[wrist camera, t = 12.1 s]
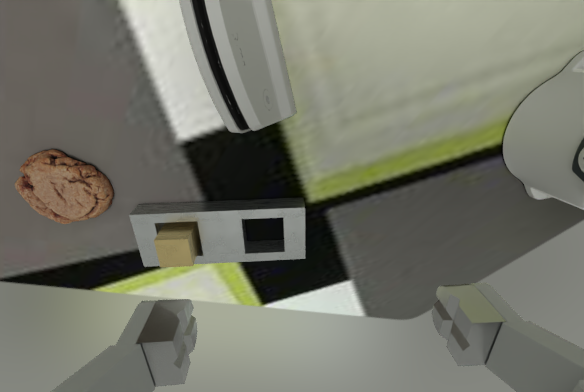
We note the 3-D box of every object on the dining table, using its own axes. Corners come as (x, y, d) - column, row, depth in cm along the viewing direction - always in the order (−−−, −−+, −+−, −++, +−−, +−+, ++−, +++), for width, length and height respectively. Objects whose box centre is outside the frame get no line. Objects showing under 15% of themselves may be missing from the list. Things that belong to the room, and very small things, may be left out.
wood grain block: (199, 214, 41) (187, 239, 35) (203, 239, 43) (192, 265, 37) (169, 215, 41) (153, 240, 35) (175, 240, 42) (160, 267, 37)
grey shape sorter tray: (303, 197, 40) (305, 207, 38) (303, 246, 44) (305, 258, 41) (139, 204, 40) (129, 215, 37) (152, 253, 43) (144, 266, 40)
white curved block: (297, 115, 36) (269, 143, 27) (262, 122, 37) (225, 149, 29) (258, -56, 29) (204, -89, 20) (217, -38, 30) (151, -62, 22)
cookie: (123, 216, 41) (113, 227, 38) (44, 220, 40) (27, 232, 38) (102, 145, 36) (88, 153, 34) (12, 149, 36) (-9, 156, 33)
